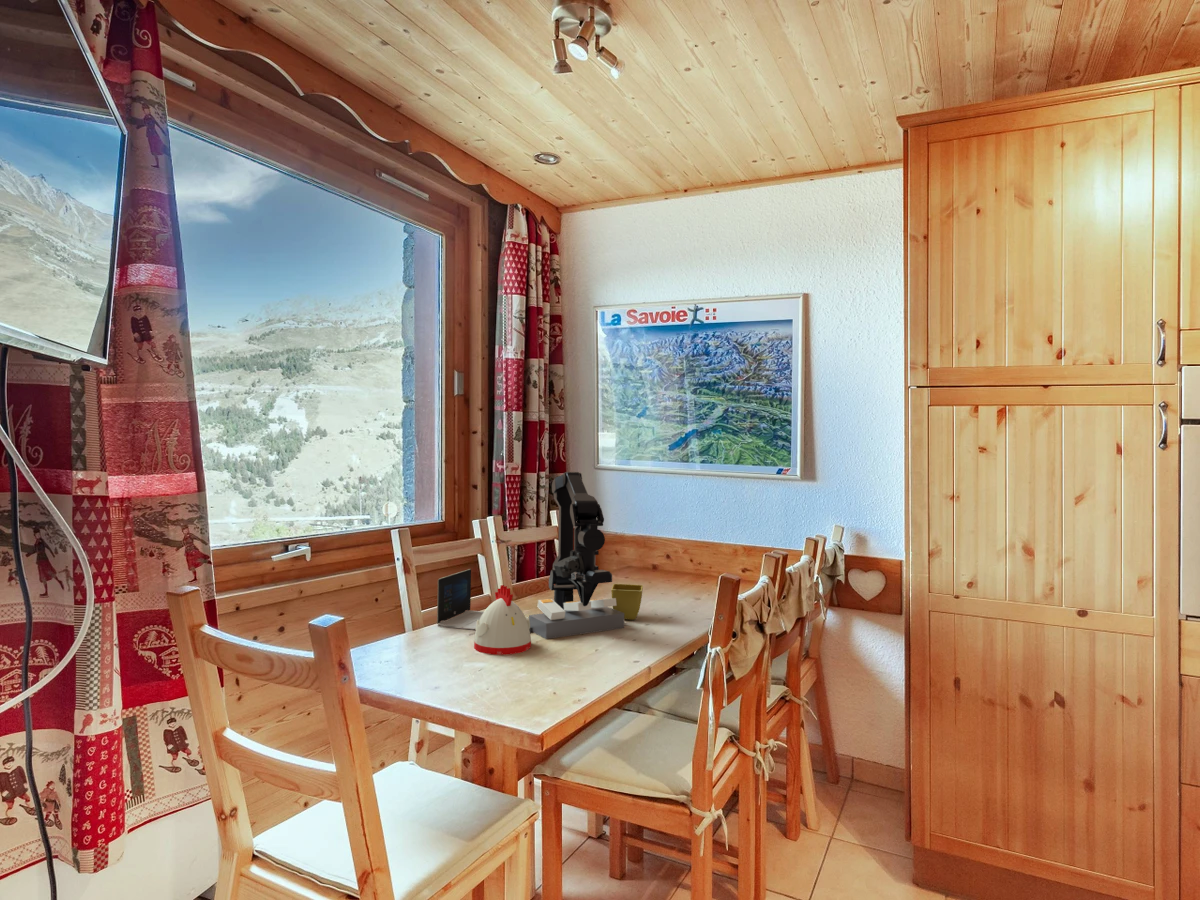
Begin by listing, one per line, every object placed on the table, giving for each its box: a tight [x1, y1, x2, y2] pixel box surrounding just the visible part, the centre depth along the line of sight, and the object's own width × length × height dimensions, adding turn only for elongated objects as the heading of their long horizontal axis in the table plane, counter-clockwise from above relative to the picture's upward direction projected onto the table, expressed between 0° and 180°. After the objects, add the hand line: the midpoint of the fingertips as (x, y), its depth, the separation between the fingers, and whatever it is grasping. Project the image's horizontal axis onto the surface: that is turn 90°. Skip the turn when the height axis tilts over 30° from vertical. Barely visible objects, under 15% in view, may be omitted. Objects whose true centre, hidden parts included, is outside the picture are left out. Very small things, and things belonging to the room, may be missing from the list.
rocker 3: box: [589, 597, 617, 608], centre depth 198 cm, size 8×4×2 cm, turn 33°
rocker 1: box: [536, 598, 565, 620], centre depth 190 cm, size 8×4×2 cm, turn 31°
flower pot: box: [610, 583, 644, 621], centre depth 207 cm, size 9×9×9 cm
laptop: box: [436, 568, 484, 631], centre depth 201 cm, size 18×12×13 cm
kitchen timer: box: [473, 584, 532, 656], centre depth 176 cm, size 14×14×15 cm
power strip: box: [528, 606, 625, 640], centre depth 192 cm, size 10×30×4 cm, turn 122°
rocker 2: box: [564, 600, 591, 611], centre depth 194 cm, size 8×4×2 cm, turn 32°
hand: (584, 605), depth 191 cm, fingers closed
